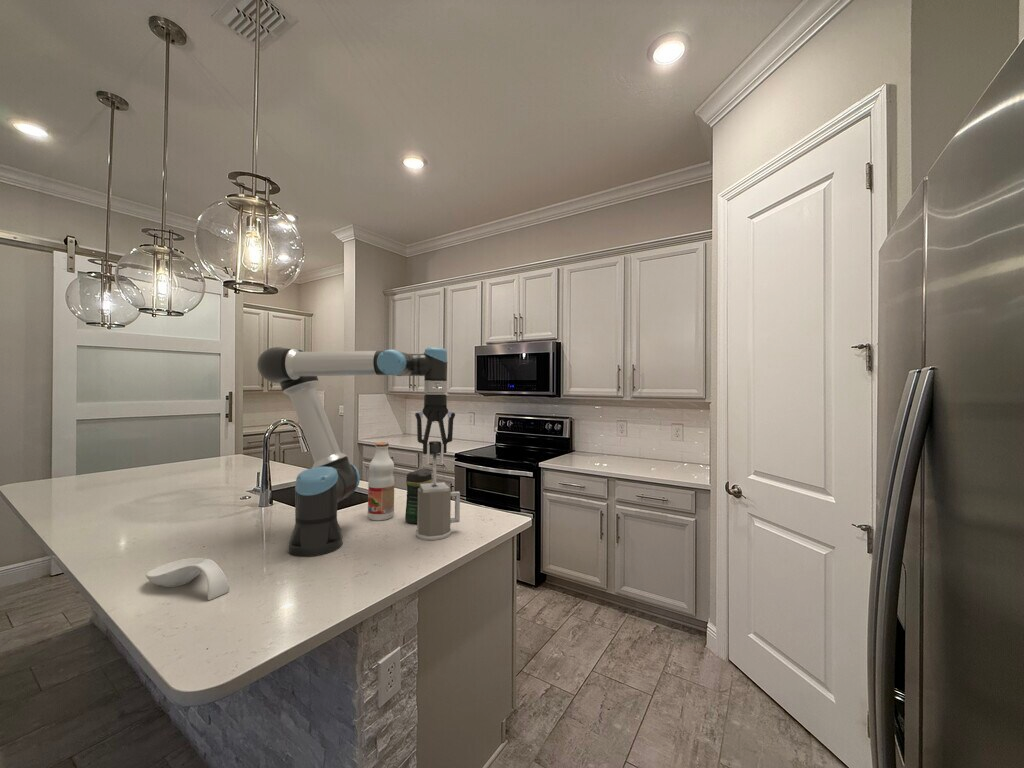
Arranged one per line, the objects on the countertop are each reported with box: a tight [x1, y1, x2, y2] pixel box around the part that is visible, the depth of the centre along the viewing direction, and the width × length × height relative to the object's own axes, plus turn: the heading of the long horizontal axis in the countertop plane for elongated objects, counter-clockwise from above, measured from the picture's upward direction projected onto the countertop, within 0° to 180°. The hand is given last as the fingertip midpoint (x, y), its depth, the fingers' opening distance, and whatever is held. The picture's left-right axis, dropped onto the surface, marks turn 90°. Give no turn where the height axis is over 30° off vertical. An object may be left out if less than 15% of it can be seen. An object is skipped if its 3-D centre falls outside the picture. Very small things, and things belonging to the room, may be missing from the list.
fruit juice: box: [367, 441, 395, 521], centre depth 158 cm, size 9×9×28 cm
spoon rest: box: [145, 557, 230, 601], centre depth 103 cm, size 24×12×7 cm, turn 66°
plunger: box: [428, 440, 442, 487], centre depth 140 cm, size 8×8×20 cm
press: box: [415, 481, 461, 541], centre depth 141 cm, size 14×12×16 cm
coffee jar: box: [404, 468, 433, 524], centre depth 154 cm, size 10×8×19 cm
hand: (434, 463), depth 140 cm, fingers closed on plunger, 4 cm apart
